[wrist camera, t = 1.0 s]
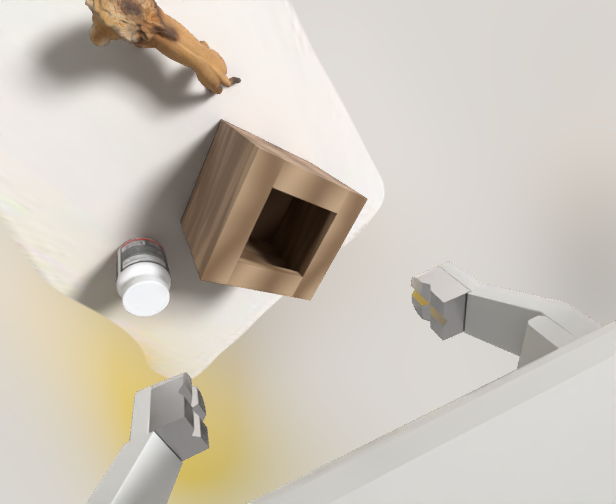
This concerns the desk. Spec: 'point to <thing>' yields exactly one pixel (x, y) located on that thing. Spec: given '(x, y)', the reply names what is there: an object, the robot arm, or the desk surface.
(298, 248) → the slot box
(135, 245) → the pill bottle
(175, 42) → the lion figurine
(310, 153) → the desk surface
